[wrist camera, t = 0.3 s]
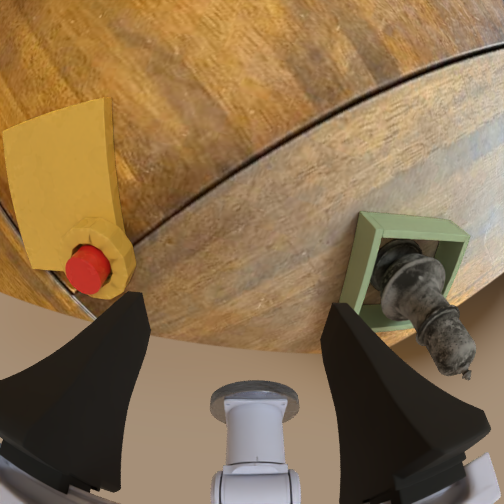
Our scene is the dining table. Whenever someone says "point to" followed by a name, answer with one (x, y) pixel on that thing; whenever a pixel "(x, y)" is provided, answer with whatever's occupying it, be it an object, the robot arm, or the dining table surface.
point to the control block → (69, 190)
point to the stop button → (87, 269)
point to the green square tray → (366, 252)
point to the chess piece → (422, 304)
